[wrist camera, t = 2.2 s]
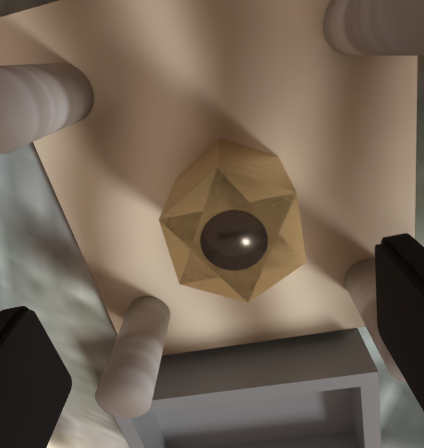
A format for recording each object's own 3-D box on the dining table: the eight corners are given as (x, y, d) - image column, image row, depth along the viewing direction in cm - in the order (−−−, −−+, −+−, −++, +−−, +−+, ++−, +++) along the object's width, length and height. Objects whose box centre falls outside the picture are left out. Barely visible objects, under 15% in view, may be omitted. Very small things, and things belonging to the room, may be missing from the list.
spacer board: (407, -95, 14) (559, -220, 8) (405, 308, 22) (477, 410, 16) (-6, 24, 16) (-156, 5, 10) (132, 348, 24) (99, 451, 18)
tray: (357, 328, 23) (378, 371, 20) (364, 428, 27) (382, 477, 24) (123, 361, 25) (108, 406, 22) (163, 449, 29) (155, 498, 26)
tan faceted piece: (273, 125, 17) (291, 152, 12) (290, 236, 19) (310, 293, 15) (167, 149, 17) (146, 183, 13) (197, 253, 20) (188, 313, 15)
